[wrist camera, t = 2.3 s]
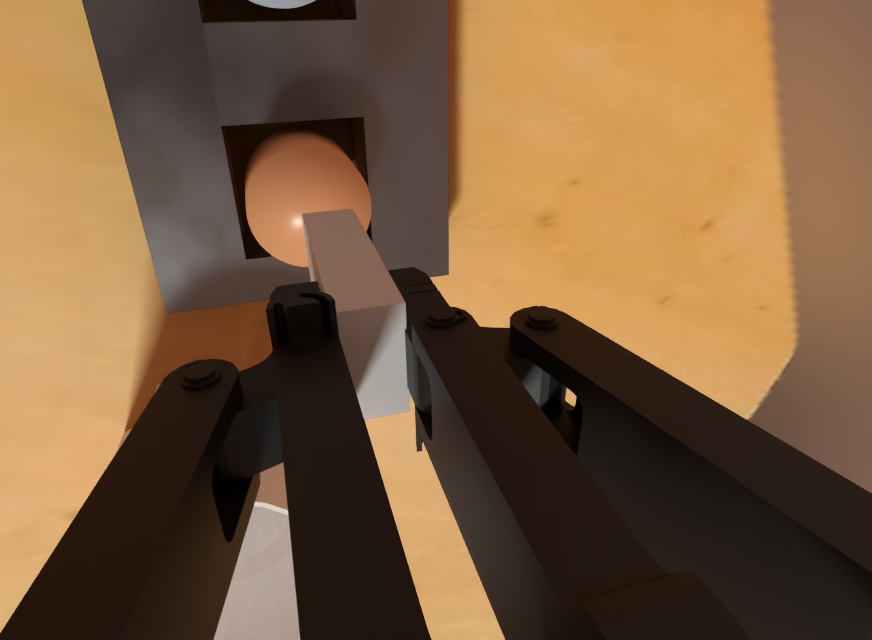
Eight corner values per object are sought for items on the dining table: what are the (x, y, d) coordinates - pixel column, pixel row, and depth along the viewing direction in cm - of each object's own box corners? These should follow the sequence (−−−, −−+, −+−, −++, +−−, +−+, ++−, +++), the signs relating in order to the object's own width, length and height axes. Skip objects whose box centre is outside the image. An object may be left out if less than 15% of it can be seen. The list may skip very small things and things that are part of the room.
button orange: (235, 131, 22) (235, 152, 19) (349, 124, 23) (367, 142, 20) (254, 240, 24) (257, 274, 21) (358, 228, 25) (375, 259, 22)
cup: (73, 382, 27) (0, 554, 18) (290, 333, 29) (313, 467, 20) (147, 529, 32) (116, 715, 23) (328, 478, 34) (358, 633, 25)
